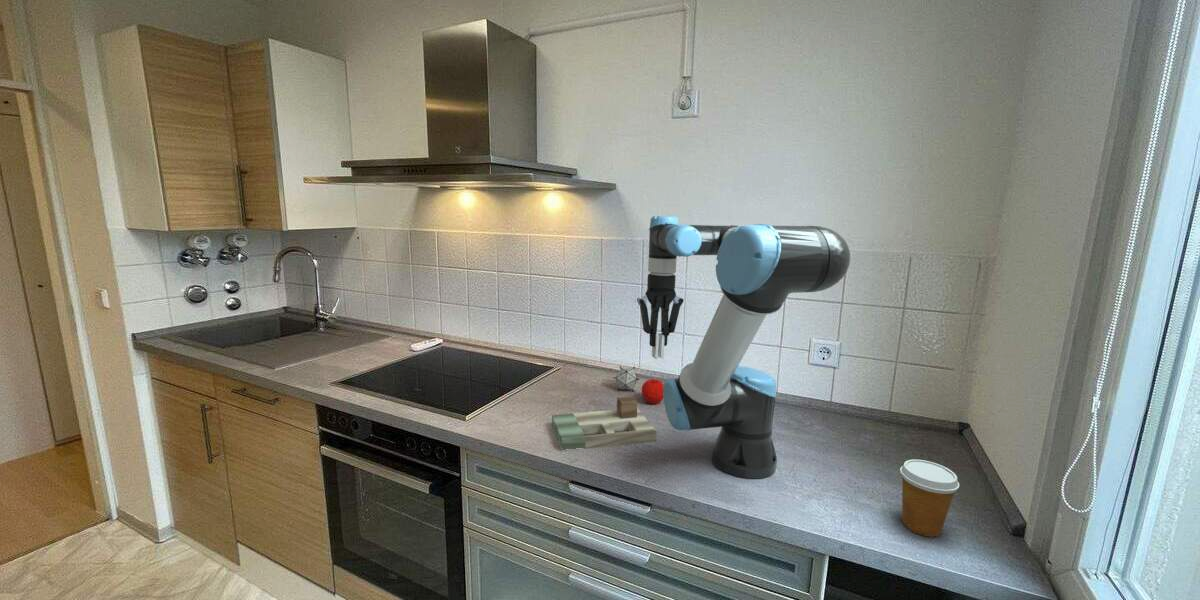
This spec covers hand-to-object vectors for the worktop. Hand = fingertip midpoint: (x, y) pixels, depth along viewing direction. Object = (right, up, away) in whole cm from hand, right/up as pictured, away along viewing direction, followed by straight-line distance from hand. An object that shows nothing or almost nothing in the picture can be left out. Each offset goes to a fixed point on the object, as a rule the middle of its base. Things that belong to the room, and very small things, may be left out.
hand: (657, 357), depth 137 cm
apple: (+1, -17, +18) cm, 25 cm away
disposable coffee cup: (+47, -29, -41) cm, 68 cm away
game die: (-7, -15, +28) cm, 33 cm away
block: (-9, -16, +1) cm, 18 cm away
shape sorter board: (-16, -20, -4) cm, 26 cm away
